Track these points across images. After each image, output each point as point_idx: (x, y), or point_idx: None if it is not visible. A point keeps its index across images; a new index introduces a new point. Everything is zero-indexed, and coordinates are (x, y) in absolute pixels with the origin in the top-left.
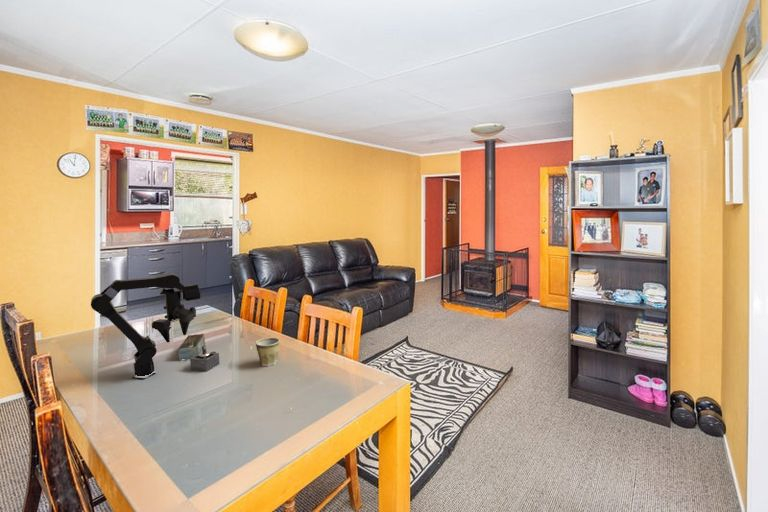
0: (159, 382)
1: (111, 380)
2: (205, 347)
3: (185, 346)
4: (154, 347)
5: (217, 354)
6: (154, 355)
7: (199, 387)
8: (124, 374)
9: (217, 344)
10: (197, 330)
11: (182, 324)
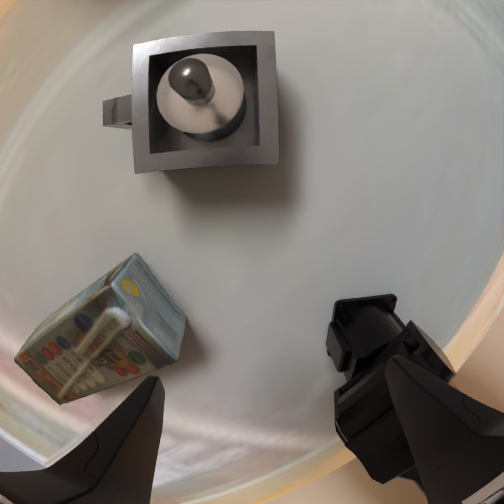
0: (413, 209)
1: None
2: (189, 61)
3: (131, 348)
4: (433, 371)
5: (148, 43)
6: (403, 342)
7: (403, 14)
8: None
9: (10, 286)
10: (23, 406)
11: (137, 498)
